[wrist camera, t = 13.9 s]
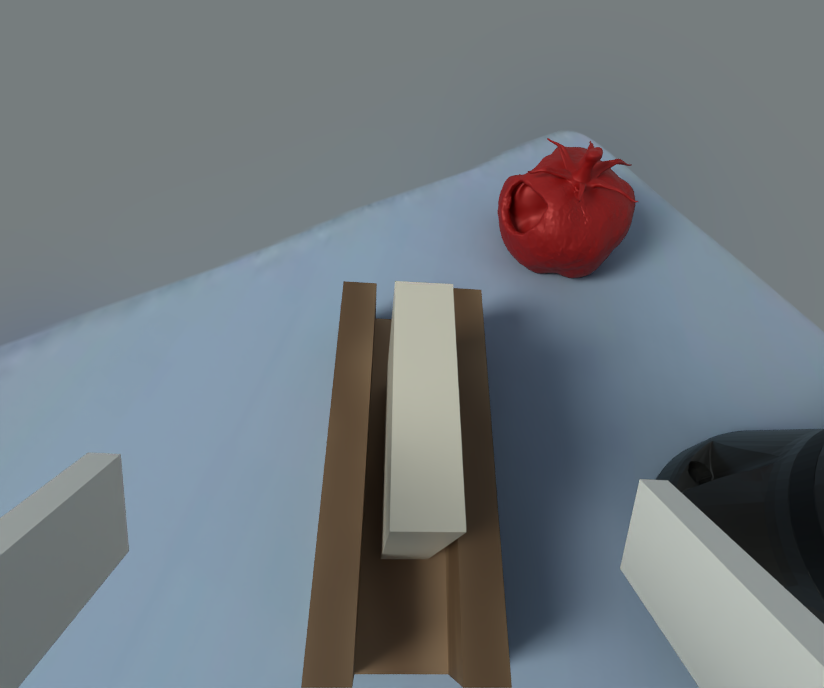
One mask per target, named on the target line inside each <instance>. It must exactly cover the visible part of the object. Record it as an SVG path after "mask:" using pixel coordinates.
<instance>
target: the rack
mask: <svg viewBox="0 0 824 688" xmlns="http://www.w3.org/2000/svg"><path fill="white" fill-rule="evenodd" d="M376 286H377V284H376V283H360V282H344V284H343V293H342V303H341V312H340V322H339V331H338V341H337V351H336V360H335V370H334V379H333V389H332V399H331V408H330V418H329V427H328V437H327V446H326V456H325V466H324V475H323V485H322V494H321V504H320V514H319V523H318V533H317V542H316V552H315V561H314V571H313V581H312V590H311V600H310V609H309V619H308V629H307V638H306V648H305V657H304V667H303V676H302V686H301V688H352V685H353V679H354V674H449V675H450V676H451V677H452V678H453V679H454V680H455V681H456V682H458V683H459V684H460V685H461V686H462V687H463V688H512V686H511V672H510V659H509V646H508V633H507V620H506V607H505V594H504V581H503V568H502V555H501V542H500V529H499V516H498V503H497V490H496V477H495V464H494V451H493V438H492V425H491V412H490V399H489V386H488V373H487V359H486V346H485V333H484V320H483V307H482V294H481V290H474V289H458V288H453V295H454V313H455V332H456V350H457V368H458V387H459V405H460V424H461V442H462V460H463V479H464V497H465V515H466V533H465V534H463V535H462V536H460V537H459V538H458V539H456V540H455V541H453V542H452V543H450V544H449V545H448V546H446V547H445V548H443V549H442V550H440V551H439V552H437V553H436V554H435V555H433V556H432V557H430V558H429V559H381V530H382V496H383V463H384V429H385V396H386V378H387V367H388V356H389V344H390V333H391V322H392V319H375V318H376Z"/></svg>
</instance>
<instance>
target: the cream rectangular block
mask: <svg viewBox="0 0 824 688" xmlns="http://www.w3.org/2000/svg"><path fill="white" fill-rule="evenodd" d="M465 533H466V515H465V497H464V479H463V460H462V442H461V424H460V405H459V387H458V368H457V350H456V332H455V313H454V295H453V284H439V283H420V282H400V281H395V288H394V300H393V311H392V322H391V333H390V344H389V356H388V367H387V378H386V396H385V429H384V463H383V496H382V530H381V559H429V558H430V557H432V556H433V555H435V554H436V553H437V552H439V551H440V550H442V549H443V548H445V547H446V546H448V545H449V544H450V543H452V542H453V541H455V540H456V539H458V538H459V537H460V536H462V535H463V534H465Z"/></svg>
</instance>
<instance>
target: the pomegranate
mask: <svg viewBox="0 0 824 688" xmlns="http://www.w3.org/2000/svg"><path fill="white" fill-rule="evenodd" d="M547 139H548V140H549V141H550V142H552V143H554V144H555V145H557V146H558V147H557V148H556V149H555V151H554V152H553V153H552V154H551V155H548V156H546V157H544V158H543V159H542V161H541V162H540V163H539V164H538V165H537V166H536V167H535V168H534V169H533V170H531V171H528V173H526V174H524V175H520V174H519V175H514V176H511V177H509V178H508V179H507V180H506V181H505V183H504V185H503V188H502V190H501V193H500V196H499V202H498V204H499V206H498V216H499V226H500V231H501V236H502V239H503V241H504V244H505V246H506V247H507V249H508V251H509V252H510V253H511V255H512V256H513V257H514V258H515V259H516V260H517V261H518V262H519V263H520V264H522V265H524V266H525V267H526V268H528V269H529V270H531V271H533V272H536V273H558V274H560V275H562V276H565V277H568V278H578V277H583V276H587V275H589V274H591V273H592V272H593V271H595V270H596V269H597V268H598V267H599V266H600V265H601V264H602V263H603V261H604V260H605V259H606V258H607V257H608V256H609V254H610V253H611V252H612V251H613V250H614V249H615V248H616V247H617V246H618V245H619V244H620V243H621V241H622V240H623V239H624V237H625V236H626V234H627V232H628V230H629V228H630V225H631V222H632V218H633V213H634V208H635V202H638V201H635V196H634V191H633V189H632V187H631V186H630V185H629V184H628V183H627V182H626V181H624V180H622V179H621V178H619V177H618V176H617V175H616V174H615V172H613V171H612V170H611V167H612V166H614V165H616V164H622V165H627V166H630V165H629V164H626V163H625V162H624V161H622V160H621V159H615V160H609V161H601V160H600V159H601V158H602V154H603V151H602V149H601V148H600V147H596V148H594V146H593V143H591V141H590V142H589V143H590V145H589V147H588V150H587V149H585V148H581V147H564V146H563V145H561V144H559V143H557V142H554V141H552V140H550V139H549V138H547Z"/></svg>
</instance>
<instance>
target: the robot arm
mask: <svg viewBox="0 0 824 688" xmlns="http://www.w3.org/2000/svg"><path fill="white" fill-rule="evenodd" d="M128 551H129V545H128V533H127V522H126V510H125V498H124V487H123V475H122V464H121V454H106V453H87V454H86V455H84V456H83V457H82V458H80V459H79V460H78V461H76V462H75V463H74V464H72V465H71V466H70V467H68V468H67V469H66V470H64V471H63V472H62V473H60V474H59V475H57V476H56V477H55V478H53V479H52V480H51V481H49V482H48V483H47V484H45V485H44V486H43V487H41V488H40V489H39V490H37V491H36V492H35V493H33V494H32V495H31V496H29V497H28V498H27V499H25V500H24V501H23V502H21V503H20V504H19V505H17V506H16V507H14V508H13V509H12V510H10V511H9V512H8V513H6V514H5V515H4V516H2V517H1V518H0V688H18V687H19V686H20V685H21V683H22V682H23V681H24V680H25V678H26V677H27V676H28V675H29V674H30V672H31V671H32V670H33V669H34V667H35V666H36V665H37V664H38V662H39V661H40V660H41V659H42V658H43V656H44V655H45V654H46V653H47V651H48V650H49V649H50V648H51V646H52V645H53V644H54V643H55V641H56V640H57V639H58V638H59V637H60V635H61V634H62V633H63V632H64V630H65V629H66V628H67V627H68V625H69V624H70V623H71V622H72V621H73V619H74V618H75V617H76V616H77V614H78V613H79V612H80V611H81V609H82V608H83V607H84V606H85V605H86V603H87V602H88V601H89V600H90V598H91V597H92V596H93V595H94V593H95V592H96V591H97V590H98V588H99V587H100V586H101V585H102V584H103V582H104V581H105V580H106V579H107V577H108V576H109V575H110V574H111V572H112V571H113V570H114V569H115V568H116V566H117V565H118V564H119V563H120V561H121V560H122V559H123V558H124V556H125V555H126V554H127V553H128ZM620 569H621V571H622V572H623V574H624V575H625V577H626V578H627V580H628V581H629V583H630V584H631V586H632V587H633V589H634V590H635V592H636V593H637V595H638V596H639V598H640V599H641V601H642V602H643V604H644V605H645V607H646V608H647V610H648V611H649V613H650V614H651V616H652V617H653V619H654V620H655V622H656V623H657V625H658V626H659V628H660V629H661V631H662V632H663V634H664V635H665V637H666V638H667V640H668V641H669V643H670V644H671V646H672V647H673V649H674V650H675V652H676V653H677V655H678V656H679V658H680V659H681V661H682V662H683V664H684V665H685V667H686V668H687V670H688V671H689V673H690V674H691V676H692V677H693V679H694V680H695V682H696V683H697V685H698V686H699V688H824V429H796V430H752V431H737V432H731V433H726V434H722V435H718V436H715V437H713V438H710V439H708V440H706V441H704V442H701V443H699V444H697V445H695V446H693V447H691V448H689V449H687V450H685V451H683V452H681V453H680V454H678V455H677V456H676V457H674V458H673V459H672V460H671V461H670V462H669V463H668V464H667V465H666V466H665V467H664V468H663V470H662V471H661V473H660V474H659V476H658V477H657V479H656V480H648V479H640V480H639V485H638V489H637V494H636V498H635V503H634V508H633V512H632V517H631V521H630V526H629V530H628V535H627V539H626V544H625V548H624V553H623V557H622V562H621V567H620Z"/></svg>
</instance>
